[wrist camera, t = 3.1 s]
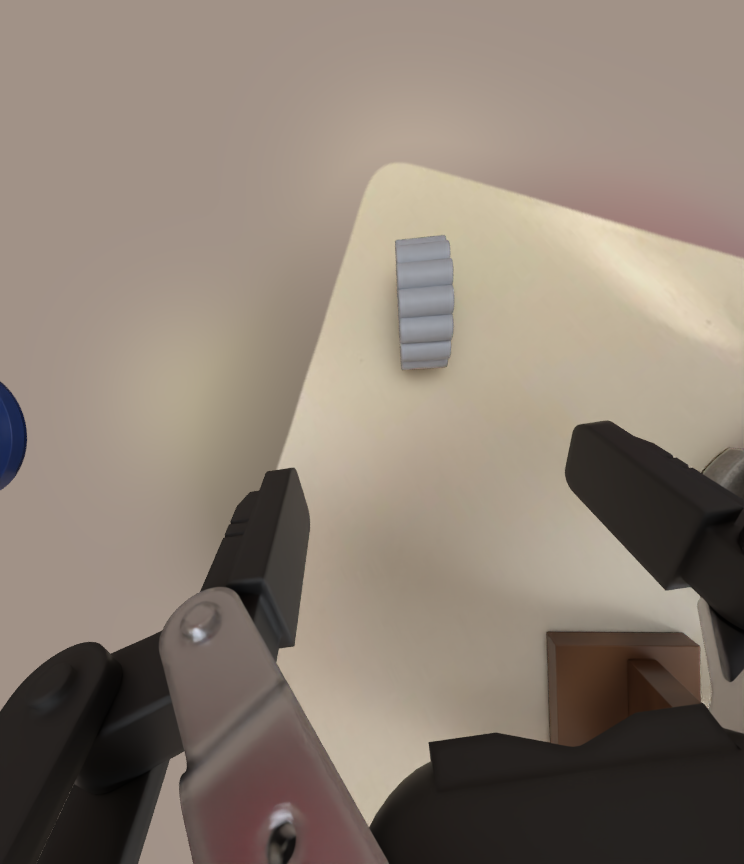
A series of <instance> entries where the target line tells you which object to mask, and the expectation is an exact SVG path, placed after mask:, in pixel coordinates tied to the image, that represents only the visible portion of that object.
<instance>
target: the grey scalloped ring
mask: <svg viewBox="0 0 744 864" xmlns="http://www.w3.org/2000/svg"><path fill="white" fill-rule="evenodd" d="M395 251H396V276H397V298H398V318H399V338H400V356H401V369H402V370H410V369H424V368H439V367H447V364H448V358H450V355H451V339H452V337H453V315H452V313H453V310H454V288H453V285H452V283H453V262H452V259H451V258H450V243H449V241H448V240H446V236H445V235H440V236H430V237H421V238H411V239H402V240H396V241H395Z"/></svg>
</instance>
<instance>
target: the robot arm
mask: <svg viewBox="0 0 744 864" xmlns="http://www.w3.org/2000/svg"><path fill="white" fill-rule="evenodd" d="M565 477H566V481H567V483H568V485H569V487H570V489H571V490H572V491H573V492H574V493H575V495H576V496H577V497H578V498H579V499H580V500H581V501H582V502H583V503H584V504H585V505H586V506H587V507H588V508H589V509H590V510H591V512H592V513H593V514H594V515H595V516H596V517H597V518H598V519H599V520H600V521H601V522H602V523H603V524H604V525H605V526H606V527H607V529H608V530H609V531H610V532H611V533H612V534H613V535H614V536H615V537H616V538H617V539H618V540H619V541H620V542H621V543H622V545H623V546H624V547H625V548H626V549H627V550H628V551H629V552H630V553H631V554H632V555H633V556H634V557H635V558H636V559H637V560H638V562H639V563H640V564H641V565H642V566H643V567H644V568H645V569H646V570H647V571H648V572H649V573H650V574H651V575H652V576H653V577H654V579H655V580H656V581H657V582H658V583H659V584H660V585H661V586H662V587H663V588H664V589H665V590H673V589H680V588H687V587H692V588H693V589H694V590H695V591H696V592H697V593H698V594H699V595H700V596H701V597H700V599H699V600H698V604H697V607H698V613H699V619H700V625H701V630H702V636H703V642H704V647H705V653H706V659H707V664H708V670H709V676H710V681H711V690H712V694H711V703H710V706H709V710H708V709H707V707H706V706H705V705H704V704H703V703H699V704H692V705H685V706H678V707H672V708H665V709H658V710H651V711H644V712H637V713H634V714H632V715H631V716H629V717H627V718H626V719H624V720H622V721H621V722H619V723H618V724H616V725H614V726H613V727H611V728H609V729H608V730H606V731H604V732H603V733H601V734H599V735H598V736H596V737H594V738H593V739H591V740H589V741H588V742H586V743H585V744H583V745H580V746H575V747H571V746H564V745H559V744H554V743H548V742H543V741H538V740H532V739H527V738H522V737H516V736H511V735H506V734H500V733H490V734H483V735H476V736H469V737H462V738H455V739H448V740H441V741H434V742H429V750H430V759H431V762H429V763H427V764H425V765H423V766H422V767H420V768H418V769H416V770H415V771H414V772H413V773H412V774H410V775H409V776H408V777H407V778H405V779H404V780H403V781H402V782H401V783H400V784H399V785H398V786H397V788H396V789H395V790H394V791H393V792H392V793H391V794H390V795H389V797H388V798H387V799H386V801H385V802H384V804H383V805H382V807H381V808H380V810H379V811H378V812H377V814H376V816H375V818H374V819H373V821H372V823H371V825H370V827H368V825H367V823H366V822H365V820H364V818H363V816H362V814H361V813H360V811H359V809H358V807H357V805H356V804H355V802H354V800H353V798H352V797H351V795H350V793H349V791H348V789H347V788H346V786H345V784H344V782H343V781H342V779H341V777H340V775H339V773H338V772H337V770H336V768H335V766H334V764H333V763H332V761H331V759H330V757H329V756H328V754H327V752H326V750H325V748H324V747H323V745H322V743H321V741H320V740H319V738H318V736H317V734H316V732H315V731H314V729H313V727H312V725H311V723H310V722H309V720H308V718H307V716H306V715H305V713H304V711H303V709H302V707H301V706H300V704H299V702H298V700H297V699H296V697H295V695H294V693H293V691H292V690H291V688H290V686H289V684H288V683H287V681H286V679H285V678H284V676H283V674H282V672H281V671H280V669H279V667H278V665H277V664H276V661H277V655H278V650H279V648H286V647H293V646H294V645H295V637H296V630H297V622H298V615H299V607H300V600H301V592H302V585H303V577H304V570H305V562H306V555H307V547H308V540H309V532H310V516H309V510H308V506H307V503H306V500H305V497H304V493H303V490H302V487H301V483H300V480H299V477H298V474H297V471H296V469H295V468H288V469H281V470H275V471H268V472H267V473H266V474H265V477H264V479H263V482H262V485H261V488H260V490H259V491H254V492H250V493H249V494H248V495H247V496H246V497H245V498H244V499H243V500H242V501H241V503H240V504H239V505H238V506H237V507H236V510H235V512H234V514H233V517H232V519H231V524H230V525H229V526H228V528H227V531H226V533H225V538H223V540H222V542H221V545H220V547H219V549H218V552H217V554H216V556H215V559H214V561H213V564H212V565H211V568H210V570H209V572H208V575H207V577H206V579H205V582H204V584H203V586H202V589H201V591H200V592H199V593H197V594H196V595H194V596H192V597H191V598H189V599H188V600H187V601H185V602H184V603H183V604H182V605H181V606H180V607H179V608H178V609H177V610H176V611H175V612H174V613H173V614H172V615H171V617H170V618H169V620H168V621H167V623H166V624H165V626H164V629H163V630H162V631H160V632H158V633H156V634H154V635H152V636H150V637H148V638H145V639H143V640H141V641H139V642H136V643H134V644H132V645H129V646H127V647H125V648H123V649H120V650H118V651H116V652H114V653H111V654H110V653H109V652H108V651H107V650H106V649H105V648H104V647H103V646H101V645H100V644H99V643H96V642H85V643H80V644H77V645H74V646H72V647H69V648H67V649H65V650H63V651H62V652H59V653H58V654H56V655H55V656H53V657H51V658H50V659H49V660H47V661H46V662H45V663H43V664H42V665H41V666H39V667H38V668H37V669H36V670H35V671H34V672H33V673H31V674H30V675H29V676H28V677H27V678H26V679H25V680H24V681H23V683H22V684H21V685H20V686H19V687H18V688H17V689H16V691H15V692H14V693H13V694H12V696H11V697H10V698H9V700H8V701H7V703H6V704H5V705H4V707H3V709H2V710H1V711H0V864H138V861H139V858H140V855H141V852H142V849H143V845H144V842H145V839H146V836H147V832H148V829H149V826H150V823H151V819H152V816H153V813H154V809H155V806H156V803H157V799H158V796H159V793H160V790H161V786H162V783H163V780H164V777H165V774H166V770H167V767H168V763H169V760H170V759H171V758H173V757H175V756H176V755H178V754H180V753H182V752H184V751H185V755H186V760H187V769H186V772H185V773H183V774H182V776H181V778H180V783H179V794H180V803H181V809H182V814H183V818H184V823H185V828H186V832H187V837H188V841H189V846H190V851H191V855H192V860H193V864H744V500H743V499H742V498H740V497H738V496H737V495H735V494H734V493H732V492H731V491H729V490H727V489H726V488H724V487H723V486H721V485H719V484H718V483H716V482H715V481H713V480H711V479H710V478H708V477H707V476H705V475H703V474H702V473H700V472H699V471H697V470H695V469H694V468H689V467H688V465H687V464H686V463H684V462H683V461H681V460H679V459H678V458H673V455H671V454H670V453H668V452H667V451H665V450H663V449H662V448H660V447H659V446H657V445H655V444H654V443H651V442H648V441H646V440H643V439H640V438H638V437H635V436H633V435H631V434H630V433H628V432H627V431H625V430H624V429H622V428H620V427H619V426H617V425H616V424H614V423H613V422H611V421H600V422H594V423H587V424H580V425H577V426H576V427H575V428H574V430H573V433H572V438H571V443H570V448H569V453H568V457H567V462H566V467H565ZM70 791H71V792H70ZM69 793H70V794H69ZM68 795H69V796H68ZM67 797H68V798H67ZM66 799H67V800H66ZM61 810H62V811H61ZM60 812H61V813H60ZM59 814H60V815H59ZM58 816H59V817H58ZM57 818H58V819H57ZM52 829H53V830H52ZM51 831H52V832H51ZM50 833H51V834H50ZM49 835H50V836H49ZM44 846H45V847H44ZM43 848H44V849H43ZM42 850H43V851H42ZM41 852H42V853H41ZM40 854H41V855H40Z"/></svg>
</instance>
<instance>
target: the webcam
mask: <svg viewBox="0 0 744 864" xmlns="http://www.w3.org/2000/svg"><path fill="white" fill-rule="evenodd" d="M702 474H703V475H705V476H707V477H708V478H710V479H711V480H713V481H715V482H716V483H718V484H719V485H721V486H723V487H724V488H726V489H727V490H729V491H731V492H732V493H734V494H735V495H737V496H738V497H740V498H742V499H743V500H744V449H736V448H728V449H727V450H726V451H724V452H723V453H722V454H721V455H719V456H718V457H717V458H716V459H715V460H714V461H713V462H712V463H711V464H710V465H709V466H708V467H707V468H706V469H705V471H704V472H703V473H702Z"/></svg>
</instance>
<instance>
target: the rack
mask: <svg viewBox="0 0 744 864" xmlns="http://www.w3.org/2000/svg"><path fill="white" fill-rule="evenodd" d="M547 651H548V682H549V714H550V743H554V744H559V745H564V746H571V747H575V746H580V745H583V744H585V743H586V742H588V741H589V740H591V739H593V738H594V737H596V736H598V735H599V734H601V733H603V732H604V731H606V730H608V729H609V728H611V727H613V726H614V725H616V724H618V723H619V722H621V721H622V720H624V719H626V718H627V717H629V716H631V715H632V714H634V713H637V712H644V711H651V710H658V709H665V708H672V707H678V706H685V705H692V704H699V703H701V660H700V646H699V645H698V644H697V643H695V642H694V641H693V640H691V639H690V638H689V637H688V636H686V635H685V634H684V633H615V632H547Z"/></svg>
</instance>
